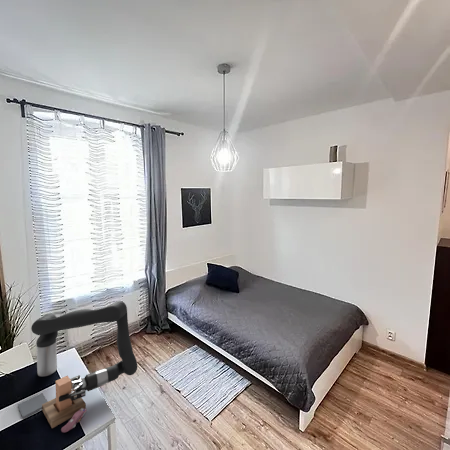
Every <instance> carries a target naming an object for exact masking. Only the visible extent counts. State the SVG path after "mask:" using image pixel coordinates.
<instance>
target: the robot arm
mask: <svg viewBox="0 0 450 450" xmlns="http://www.w3.org/2000/svg"><path fill="white" fill-rule="evenodd" d="M114 322H116V327H117V331H116V346H117V350H118V354H119V355H118V356H119V357H120V358H121V360H120V361H118V362H117V363H115V364H113V365H111V366H108V367H105V368H101V369H97V370H96V371H94V372H90V373H88V374H86V375H84V377H83V378H81V375H79V374H78V375H76V376H74V377H71V378H70V379H71V388H72V389H73V390H72V391H71V392H70V393H69V394H68V393H67V394H64V395H62V396H60V397H59V402H61V401H63V400H66V399H71V401H73V400H76V399H79V398H85V397H86V394H87V392H90V391H93V390H96V389H97V388H100V387H102V386H104V385H106V384H108V383H111V382H113V381H115V380H117V379H118V378H119V376H122V375H123V374H125V375H127V376H133V375H134V374H136V372H137V370H138V361H137V358H136V355H135V353H134V350H133V345H132V342H131V337H130V331H129V320H128V307H127V304H126V303H125V302H124V301H121V300H118V301H115V302H113V303H111V304H110V305H108V306H105V307H102V308H98V309H91V308H83V309H76V310H73V311H69V312H66V313H65V314H61V315H60V316H56V315H55V314H54V313H46V314H44V315H43V316H41V317H39V318H38V319H36V320H34V322H33V323H32V325H31V328H30V329H31V331H32V333H33V334H34V335H36V336H38V338H37V339H36V343H35V345H36V368H37V371H36V372H37V376H38V377H48V376H51V375H52V374H54V373H55V372H56V371H57V370H58V358H57V356H58V355H57V338H58V335H59V332H58V331H64V330H72V329H77V328H82V327H86V326H92V325H96V324H104V323H114ZM86 391H87V392H86ZM72 393H73V394H72ZM76 395H77V397H74V396H76Z"/></svg>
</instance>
